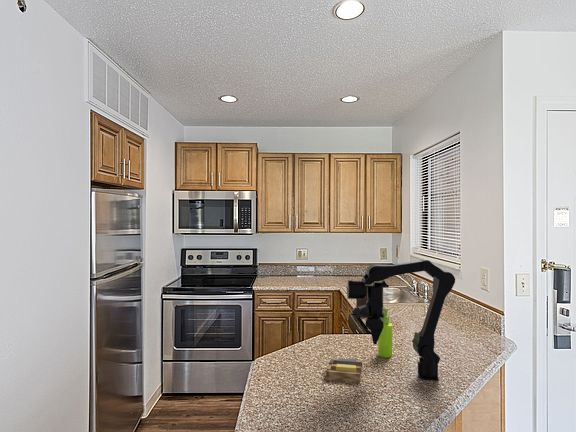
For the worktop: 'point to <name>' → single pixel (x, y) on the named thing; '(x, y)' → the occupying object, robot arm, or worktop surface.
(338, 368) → the yellow rectangular block
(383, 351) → the soap dispenser
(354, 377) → the slot board
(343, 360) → the tall grey block
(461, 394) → the worktop surface
